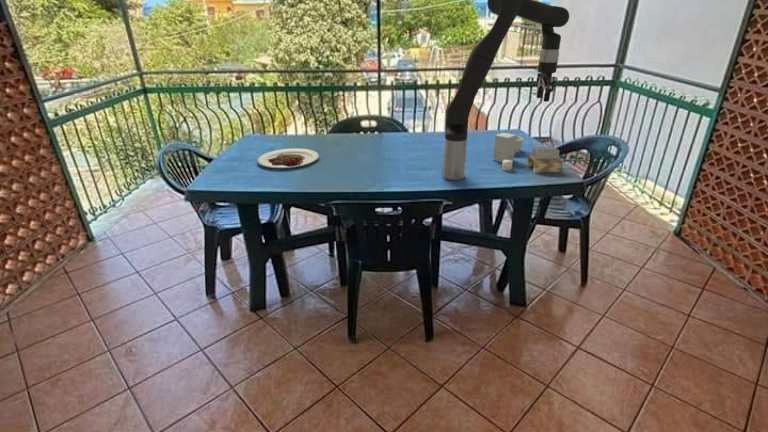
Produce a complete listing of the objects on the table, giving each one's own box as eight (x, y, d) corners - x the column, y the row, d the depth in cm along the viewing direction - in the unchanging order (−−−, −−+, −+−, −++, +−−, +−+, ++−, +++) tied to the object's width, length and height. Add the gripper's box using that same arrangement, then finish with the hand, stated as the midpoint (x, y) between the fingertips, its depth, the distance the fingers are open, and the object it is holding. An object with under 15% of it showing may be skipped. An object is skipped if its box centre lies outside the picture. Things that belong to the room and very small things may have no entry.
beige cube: (503, 171, 187) (504, 162, 185) (500, 168, 191) (501, 159, 189) (512, 171, 187) (514, 162, 185) (510, 167, 191) (511, 159, 189)
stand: (534, 172, 184) (535, 161, 182) (526, 165, 193) (528, 155, 191) (560, 172, 184) (562, 161, 182) (552, 164, 193) (553, 154, 191)
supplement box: (513, 160, 200) (517, 134, 195) (505, 163, 196) (508, 137, 190) (500, 156, 205) (503, 132, 199) (492, 160, 200) (495, 135, 195)
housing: (553, 156, 189) (555, 146, 187) (557, 159, 184) (559, 150, 182) (532, 156, 189) (533, 147, 187) (535, 160, 184) (537, 150, 182)
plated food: (287, 149, 224) (286, 142, 222) (331, 157, 210) (330, 150, 209) (244, 164, 201) (243, 158, 199) (290, 175, 187) (290, 168, 186)
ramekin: (518, 147, 219) (520, 134, 216) (524, 155, 207) (525, 141, 204) (493, 147, 220) (494, 134, 217) (497, 154, 209) (498, 141, 206)
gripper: (564, 62, 167) (557, 102, 174) (550, 58, 180) (544, 96, 187) (545, 62, 167) (539, 103, 174) (533, 59, 180) (528, 96, 187)
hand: (542, 99), depth 181 cm, fingers open, 8 cm apart
